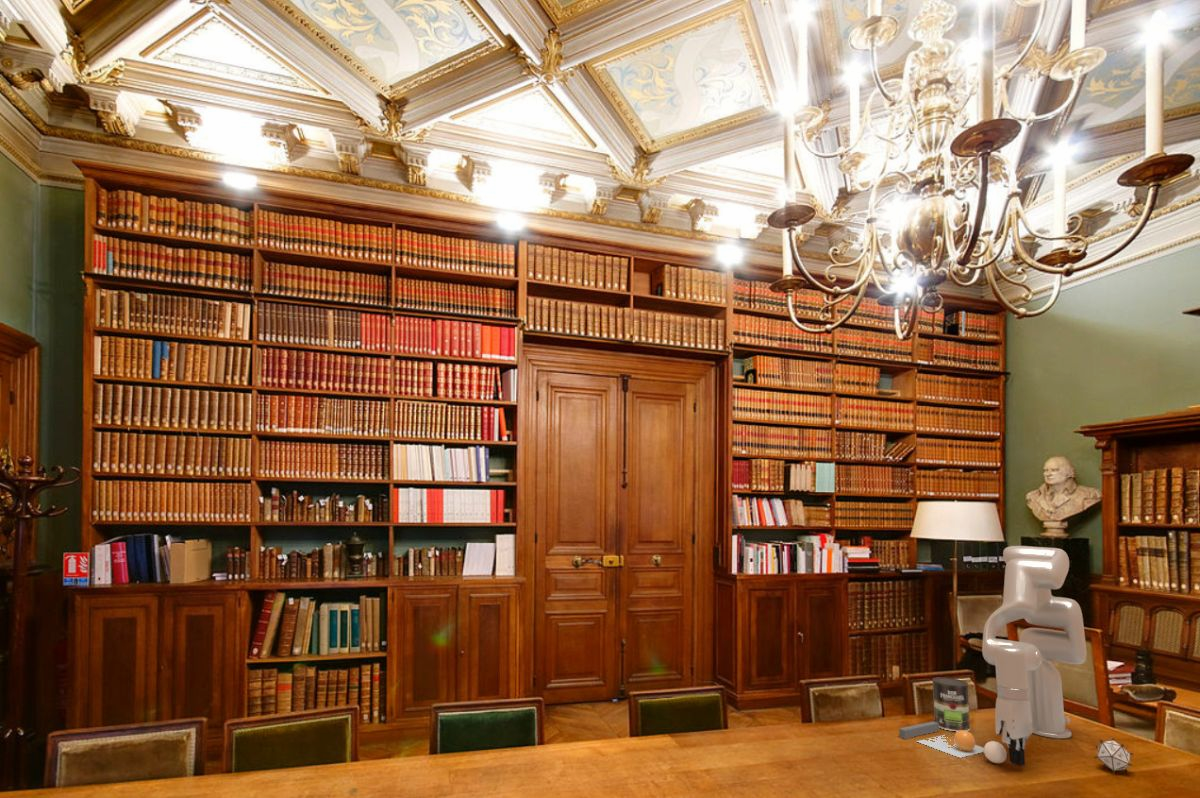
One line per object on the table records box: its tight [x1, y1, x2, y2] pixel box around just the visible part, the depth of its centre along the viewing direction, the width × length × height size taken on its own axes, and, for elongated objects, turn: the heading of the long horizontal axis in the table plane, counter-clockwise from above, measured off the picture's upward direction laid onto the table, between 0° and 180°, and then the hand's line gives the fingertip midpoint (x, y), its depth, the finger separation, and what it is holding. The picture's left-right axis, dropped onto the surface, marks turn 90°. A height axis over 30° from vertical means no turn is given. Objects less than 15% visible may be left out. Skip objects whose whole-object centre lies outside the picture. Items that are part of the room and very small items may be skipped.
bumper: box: [898, 720, 940, 740], centre depth 208 cm, size 16×2×2 cm, turn 118°
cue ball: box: [983, 740, 1008, 764], centre depth 186 cm, size 6×6×6 cm
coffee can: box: [931, 676, 971, 733], centre depth 216 cm, size 10×10×14 cm
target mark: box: [915, 734, 984, 759], centre depth 198 cm, size 14×14×1 cm
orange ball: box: [953, 730, 976, 751], centre depth 195 cm, size 6×6×6 cm
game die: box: [1093, 737, 1134, 775], centre depth 182 cm, size 9×8×10 cm
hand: (1017, 763), depth 181 cm, fingers closed
